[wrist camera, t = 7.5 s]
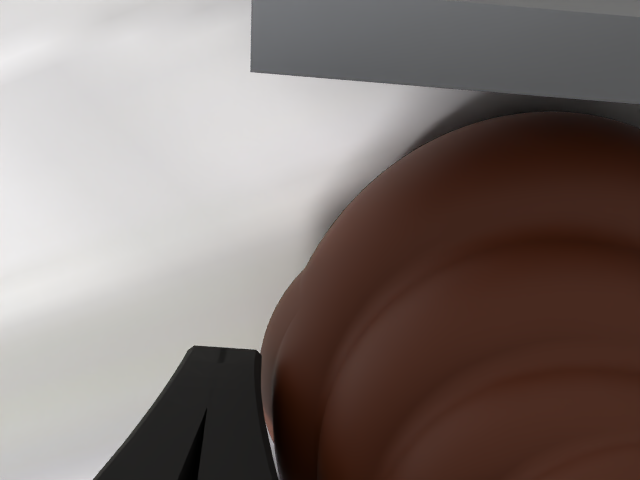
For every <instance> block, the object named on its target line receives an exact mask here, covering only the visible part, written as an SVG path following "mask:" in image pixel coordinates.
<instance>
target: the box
mask: <svg viewBox="0 0 640 480" xmlns="http://www.w3.org/2000/svg"><path fill="white" fill-rule="evenodd" d="M250 72H256V73H268V74H280V75H292V76H304V77H316V78H328V79H340V80H352V81H365V82H377V83H389V84H401V85H413V86H425V87H437V88H449V89H461V90H473V91H485V92H497V93H509V94H521V95H533V96H545V97H557V98H569V99H581V100H594V101H606V102H618V103H630V104H640V0H252V13H251V70H250Z"/></svg>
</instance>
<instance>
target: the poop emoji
mask: <svg viewBox="0 0 640 480" xmlns="http://www.w3.org/2000/svg"><path fill="white" fill-rule="evenodd" d="M260 354H261V355H262V367H261V395H262V403H263V411H264V417H265V422H266V425H267V428H268V431H269V433H270V436H271V438H272V440H273V442H274V446H275V454H276V460H277V465H278V470H279V475H280V479H281V480H640V129H639V128H637V127H634V126H631V125H629V124H626V123H623V122H619V121H616V120H612V119H608V118H604V117H599V116H594V115H588V114H581V113H572V112H528V113H520V114H512V115H506V116H501V117H496V118H492V119H488V120H484V121H480V122H477V123H474V124H471V125H467V126H464V127H462V128H459V129H457V130H454V131H451V132H449V133H447V134H445V135H442V136H440V137H438V138H436V139H434V140H432V141H430V142H428V143H426V144H424V145H423V146H421V147H419V148H417V149H416V150H414V151H412V152H411V153H409V154H408V155H406V156H405V157H403V158H402V159H400V160H399V161H397V162H396V163H394V164H393V165H392V166H390V167H389V168H388V169H387V170H385V171H384V172H383V173H381V174H380V175H379V176H378V177H377V178H376V179H374V180H373V181H372V182H371V183H370V184H369V185H368V186H367V187H366V188H365V189H363V190H362V191H361V192H360V193H359V194H358V195H357V197H356V198H355V199H354V200H353V201H352V202H351V203H350V204H349V205H348V206H347V207H346V209H345V210H344V211H343V212H342V213H341V214H340V216H339V217H338V218H337V219H336V221H335V222H334V223H333V225H332V226H331V227H330V229H329V230H328V231H327V233H326V234H325V236H324V237H323V239H322V240H321V242H320V243H319V245H318V246H317V248H316V250H315V252H314V253H313V255H312V257H311V258H310V260H309V262H308V264H307V266H306V268H305V269H304V270H303V271H302V272H301V273H300V274H299V275H298V276H297V277H296V278H295V280H294V281H293V282H292V283H291V285H290V286H289V287H288V289H287V290H286V291H285V293H284V294H283V296H282V298H281V299H280V301H279V303H278V304H277V306H276V308H275V310H274V312H273V314H272V317H271V319H270V321H269V324H268V326H267V329H266V332H265V336H264V339H263V343H262V348H261V353H260Z"/></svg>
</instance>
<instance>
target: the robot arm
mask: <svg viewBox="0 0 640 480" xmlns="http://www.w3.org/2000/svg"><path fill="white" fill-rule="evenodd" d="M261 367H262V355H261V354H260V353H259V352H258V351H257V350H251V349H236V348H222V347H207V346H193V347H192V348H190V349H189V350H188V351H187V353H186V355H185V357H184V358H183V360H182V362H181V363H180V365H179V366H178V368H177V370H176V371H175V373H174V374H173V376H172V377H171V379H170V380H169V382H168V383H167V385H166V386H165V388H164V389H163V391H162V392H161V394H160V395H159V396H158V398H157V399H156V401H155V402H154V404H153V405H152V406H151V408H150V409H149V410H148V412H147V413H146V414H145V416H144V417H143V418H142V420H141V421H140V422H139V424H138V425H137V426H136V428H135V429H134V430H133V431H132V433H131V434H130V435H129V437H128V438H127V439H126V441H125V442H124V443H123V444H122V446H121V447H120V448H119V449H118V450H117V452H116V453H115V454H114V455H113V456H112V457H111V459H110V460H109V461H108V462H107V463H106V465H105V466H104V467H103V468H102V469H101V470H100V472H99V473H98V474H97V475H96V476H95V478H94V479H93V480H278V476H277V473H276V469H275V465H274V461H273V457H272V452H271V447H270V443H269V438H268V433H267V428H266V423H265V417H264V411H263V403H262V395H261Z"/></svg>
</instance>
